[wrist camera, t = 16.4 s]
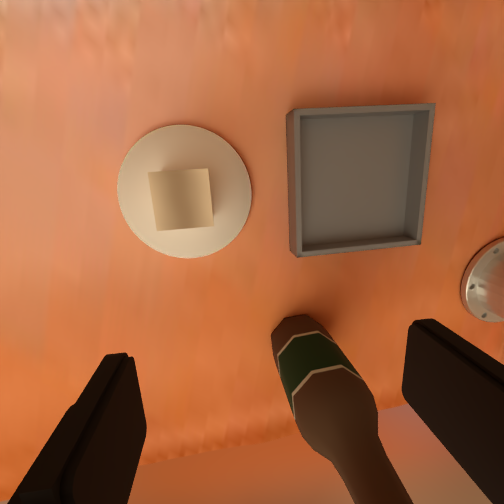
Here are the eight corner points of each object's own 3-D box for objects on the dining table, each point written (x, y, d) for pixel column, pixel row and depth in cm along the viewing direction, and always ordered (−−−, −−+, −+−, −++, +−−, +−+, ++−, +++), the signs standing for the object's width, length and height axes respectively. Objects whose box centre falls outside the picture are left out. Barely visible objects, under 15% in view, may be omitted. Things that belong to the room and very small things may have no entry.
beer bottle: (331, 317, 38) (519, 538, 15) (313, 366, 39) (457, 632, 17) (277, 307, 36) (394, 536, 13) (261, 358, 38) (340, 640, 15)
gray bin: (415, 109, 32) (435, 103, 29) (404, 238, 36) (420, 244, 33) (285, 115, 30) (293, 108, 27) (289, 250, 34) (296, 257, 31)
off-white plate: (245, 123, 30) (246, 121, 29) (254, 249, 34) (255, 251, 33) (107, 129, 28) (104, 127, 27) (133, 261, 32) (130, 264, 31)
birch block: (208, 169, 29) (208, 168, 24) (213, 216, 31) (213, 226, 25) (159, 172, 29) (147, 172, 23) (166, 220, 30) (156, 231, 25)
